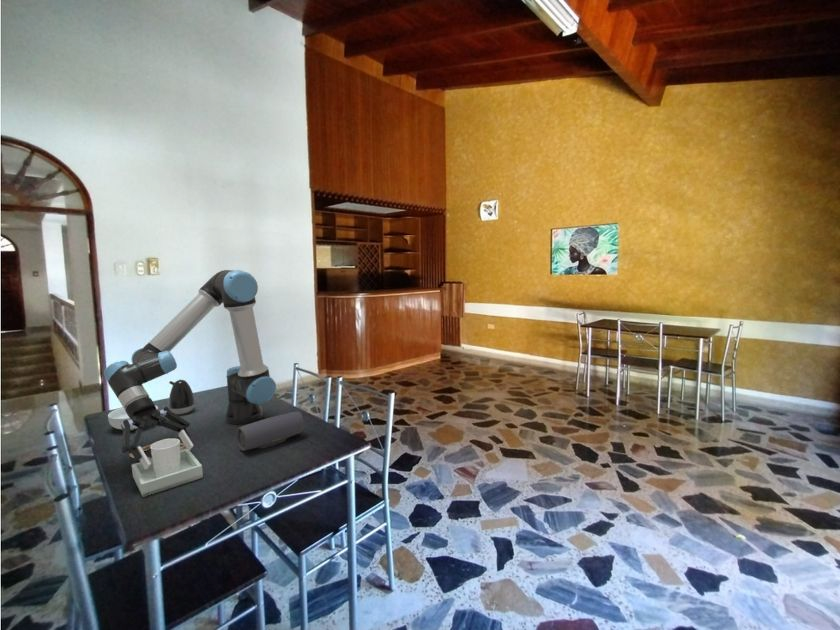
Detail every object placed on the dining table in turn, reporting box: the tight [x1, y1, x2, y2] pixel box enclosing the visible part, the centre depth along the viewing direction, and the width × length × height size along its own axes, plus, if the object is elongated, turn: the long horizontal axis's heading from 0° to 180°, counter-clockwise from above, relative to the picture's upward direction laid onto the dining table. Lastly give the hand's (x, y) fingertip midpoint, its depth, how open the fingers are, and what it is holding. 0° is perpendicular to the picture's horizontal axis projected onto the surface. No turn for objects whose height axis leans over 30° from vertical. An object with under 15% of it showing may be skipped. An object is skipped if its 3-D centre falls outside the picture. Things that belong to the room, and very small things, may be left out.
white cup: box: [150, 437, 181, 478], centre depth 129 cm, size 8×8×10 cm
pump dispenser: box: [168, 379, 196, 415], centre depth 184 cm, size 10×10×15 cm
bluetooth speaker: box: [236, 411, 306, 452], centre depth 153 cm, size 23×9×10 cm, turn 135°
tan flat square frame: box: [128, 437, 187, 460], centre depth 146 cm, size 13×13×2 cm
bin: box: [131, 449, 204, 498], centre depth 129 cm, size 16×16×4 cm
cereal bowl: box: [107, 404, 159, 431], centre depth 169 cm, size 17×17×7 cm
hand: (170, 457), depth 128 cm, fingers open, 13 cm apart
